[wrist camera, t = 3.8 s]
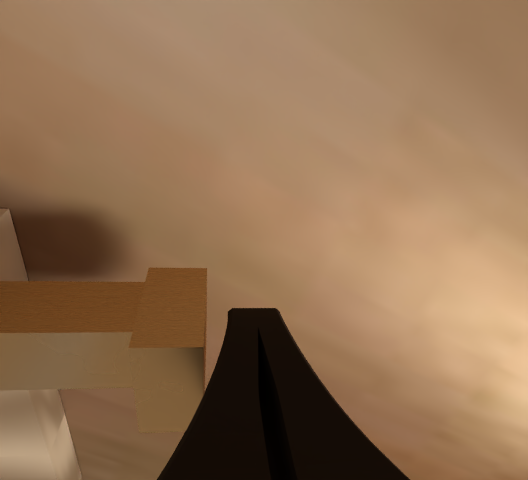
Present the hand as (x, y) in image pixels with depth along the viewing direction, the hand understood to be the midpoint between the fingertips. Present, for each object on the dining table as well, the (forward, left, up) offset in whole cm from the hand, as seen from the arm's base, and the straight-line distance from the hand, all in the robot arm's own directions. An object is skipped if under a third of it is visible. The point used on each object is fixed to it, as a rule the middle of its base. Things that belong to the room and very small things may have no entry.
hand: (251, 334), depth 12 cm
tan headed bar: (0, +6, -1) cm, 6 cm away
